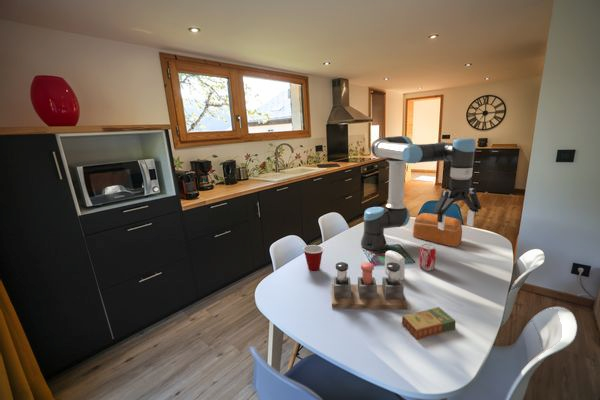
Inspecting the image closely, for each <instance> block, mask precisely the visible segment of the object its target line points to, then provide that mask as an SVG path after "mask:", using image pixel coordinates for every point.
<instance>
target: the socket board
mask: <svg viewBox="0 0 600 400" xmlns="http://www.w3.org/2000/svg"><path fill="white" fill-rule="evenodd" d="M404 288H405V287H404V285H403V283H402V280H400V278H399V277H398V285H388V276H383V277H382V281H381V284H377V282H376V278H375V276H372V285H362V276H357V284H351V277H350V276H347V285H346V284H337V276H333V283H331V308H332V309H370V310H372V309H374V310H375V309H376V310H407V311H408V310H409V304H408V302H407V299H406V297H405V294H404Z"/></svg>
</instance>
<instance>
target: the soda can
mask: <svg viewBox="0 0 600 400" xmlns="http://www.w3.org/2000/svg"><path fill="white" fill-rule="evenodd" d="M436 254H437V251H436V248H435V246H434V245H432V244H429V243H424V244H422V245H421V247H420V250H419V262H418V264H419V265H418V266H419V268H420V269H422V270H423V271H426V272H427V271H428V272H430V271H433V270H434V269H435V265H436V256H437V255H436Z"/></svg>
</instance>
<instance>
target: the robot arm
mask: <svg viewBox="0 0 600 400" xmlns="http://www.w3.org/2000/svg"><path fill="white" fill-rule="evenodd" d="M452 141H453V142H446V141H445V142H442V141H441V142H435V143H427V144H426V143H425V144H424V143H423V144H418V143H417V144H416V143H415V144H414V143H413V141H412V140H411V138H410V137H409V136H406V135H399V136H398V135H397V136H396V135H395V136H384V137H379V138H377V139H375V140H374V141H373V143H371V147H370V151H371V153H372V155H373V156H374V157H375V158H378V159H386V161H387V162H388V163H389V167H388V169H389V170H388V171H389V173H388V202H387V203H386V204H385V207H382V206H373V207H368V208H366V209H365V210H364V214H363V235H362V237H361V240H360V245H361V247H363V248H364V249H365V250H368V251H380V250H381V251H382V250H384V249H385V248H386V249H387V239H386V237H385V233H384V232H385V229H393V228H401V227H405V226H406V225H407V224H409V221H410V217H411V215H410V210H409V208H407V205H406V204H405V203H404V201H405V200H404V199H405V198H404V197H405V180H406V178H405V173H406V164H418V163H427V162H428V163H429V162H430V163H433V162H443V161H445V162H451V164H450V173H449V177H450V178H449V182H448V184H449V185H448V186H449V190H444V189H443V190H442V191H441V195H440V198H439V200H438V201H437V203H436V204H435V207H434V209H433V214H434V213H435V214H436V215H438V217H437V221H438V229H440V230H444V224H445V216H446V214H445V213H446V212H447V211H448V210H449V208H450V207H451V206H452V205H453V204H454V203H456V202H459V201H463V202H464V203H465V205H466V206H467V207H468V210H467V217H466V225H467V226H469V227H471V228H473V227H474V222H475V221H474V220H475V218H476V213H478V212H479V211H480V210H482V207H481V203H480V201H479V197H478V195H477V188H473V187H471V186H472V177H473V169H474V160H475V154H476V153H475V152H476V139H475V138H472V137H469V138H468V137H467V138H466V137H465V138H464V137H463V138H462V137H461V138H454V139H453V140H452Z"/></svg>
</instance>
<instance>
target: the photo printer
mask: <svg viewBox="0 0 600 400" xmlns="http://www.w3.org/2000/svg"><path fill="white" fill-rule="evenodd" d="M391 262H393V263H397V264H399V265H400V270H399V271H398V277H399V278H400V280H401V281H404V278H405V268H406V267H405V266H406V259H405V257H404V256H403V255H402V254H400V253H398V252H397V251H394V250H387V251H385V253H384V273H385V274H387V275H388V269H387V264H388V263H391Z"/></svg>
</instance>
